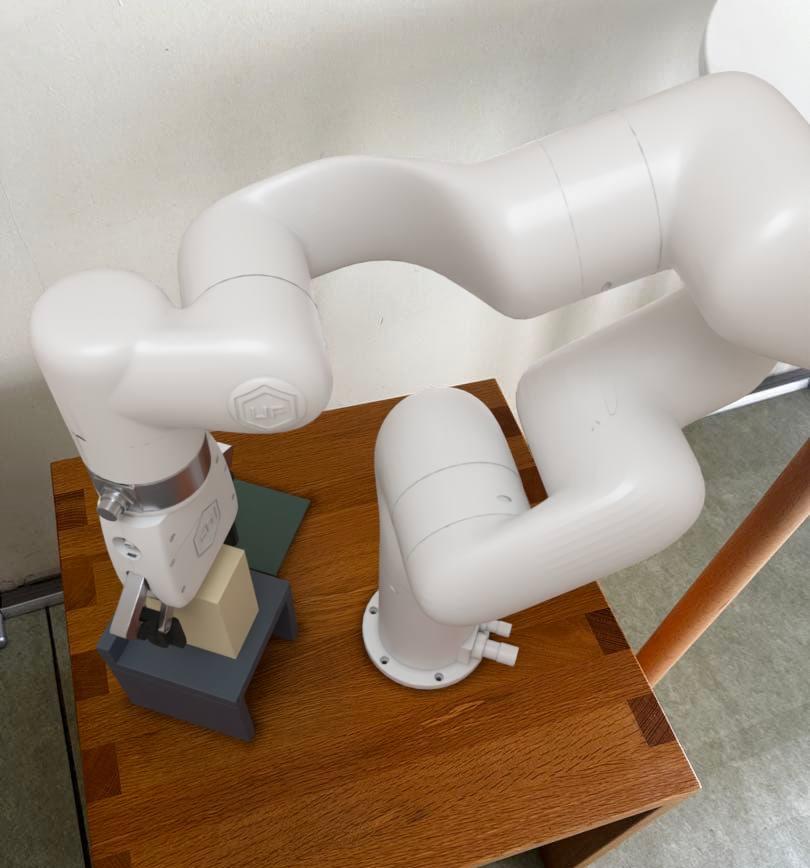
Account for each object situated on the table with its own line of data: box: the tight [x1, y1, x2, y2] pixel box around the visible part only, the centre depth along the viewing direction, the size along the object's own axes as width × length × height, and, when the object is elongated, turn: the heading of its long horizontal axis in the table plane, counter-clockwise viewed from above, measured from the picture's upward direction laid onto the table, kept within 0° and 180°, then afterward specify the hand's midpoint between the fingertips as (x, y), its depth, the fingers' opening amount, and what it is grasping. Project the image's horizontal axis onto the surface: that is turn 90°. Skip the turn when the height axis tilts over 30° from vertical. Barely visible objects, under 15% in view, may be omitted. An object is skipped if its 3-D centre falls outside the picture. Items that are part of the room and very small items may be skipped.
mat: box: [233, 478, 311, 578], centre depth 89 cm, size 9×10×1 cm
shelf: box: [95, 569, 299, 743], centre depth 75 cm, size 12×12×12 cm
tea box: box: [146, 544, 259, 659], centre depth 68 cm, size 5×7×10 cm
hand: (194, 587), depth 67 cm, fingers open, 9 cm apart
